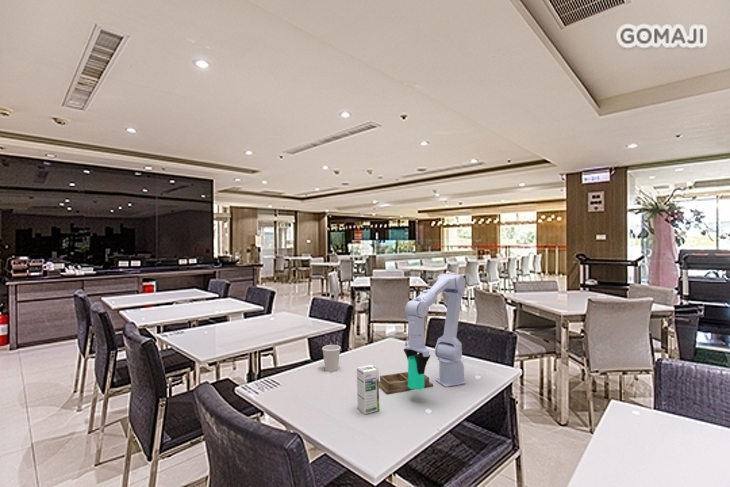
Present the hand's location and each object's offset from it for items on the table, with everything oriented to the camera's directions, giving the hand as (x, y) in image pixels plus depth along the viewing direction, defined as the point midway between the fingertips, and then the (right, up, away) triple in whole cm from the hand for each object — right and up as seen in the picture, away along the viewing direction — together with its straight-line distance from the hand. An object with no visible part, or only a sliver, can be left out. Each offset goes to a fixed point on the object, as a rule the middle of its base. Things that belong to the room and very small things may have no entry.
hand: (416, 370), depth 135 cm
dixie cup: (-34, -11, +32) cm, 48 cm away
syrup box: (-18, -11, -8) cm, 22 cm away
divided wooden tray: (-3, -10, +13) cm, 17 cm away
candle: (0, -6, -1) cm, 6 cm away
